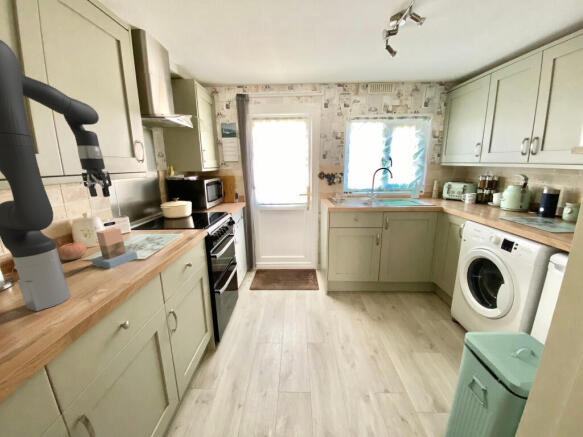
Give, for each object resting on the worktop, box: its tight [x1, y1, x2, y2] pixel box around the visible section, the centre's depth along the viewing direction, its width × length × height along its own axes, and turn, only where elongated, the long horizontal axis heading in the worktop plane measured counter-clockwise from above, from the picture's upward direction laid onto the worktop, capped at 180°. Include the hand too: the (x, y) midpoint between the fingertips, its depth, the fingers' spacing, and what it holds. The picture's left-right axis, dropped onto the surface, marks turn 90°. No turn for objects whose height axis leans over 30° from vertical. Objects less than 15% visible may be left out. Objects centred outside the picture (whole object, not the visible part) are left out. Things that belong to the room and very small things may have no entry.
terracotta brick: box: [95, 227, 124, 246], centre depth 103 cm, size 7×5×6 cm
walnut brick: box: [99, 240, 127, 259], centre depth 104 cm, size 7×5×6 cm
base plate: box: [91, 250, 138, 270], centre depth 105 cm, size 12×12×3 cm
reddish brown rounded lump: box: [57, 242, 87, 261], centre depth 111 cm, size 11×11×8 cm
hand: (100, 196), depth 99 cm, fingers open, 8 cm apart
